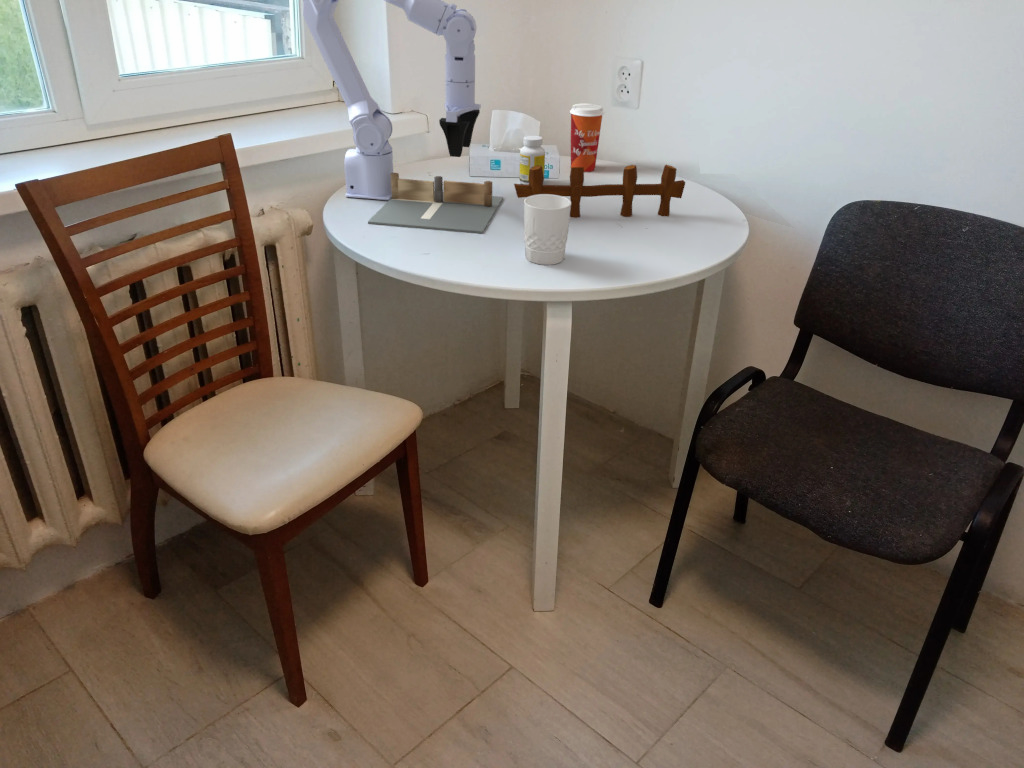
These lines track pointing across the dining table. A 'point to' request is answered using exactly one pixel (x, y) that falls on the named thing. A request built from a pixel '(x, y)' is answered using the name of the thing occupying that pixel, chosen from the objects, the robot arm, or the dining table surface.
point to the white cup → (546, 228)
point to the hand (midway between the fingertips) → (460, 151)
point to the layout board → (436, 215)
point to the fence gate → (468, 192)
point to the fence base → (417, 189)
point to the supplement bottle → (531, 157)
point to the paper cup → (585, 135)
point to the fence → (606, 188)
